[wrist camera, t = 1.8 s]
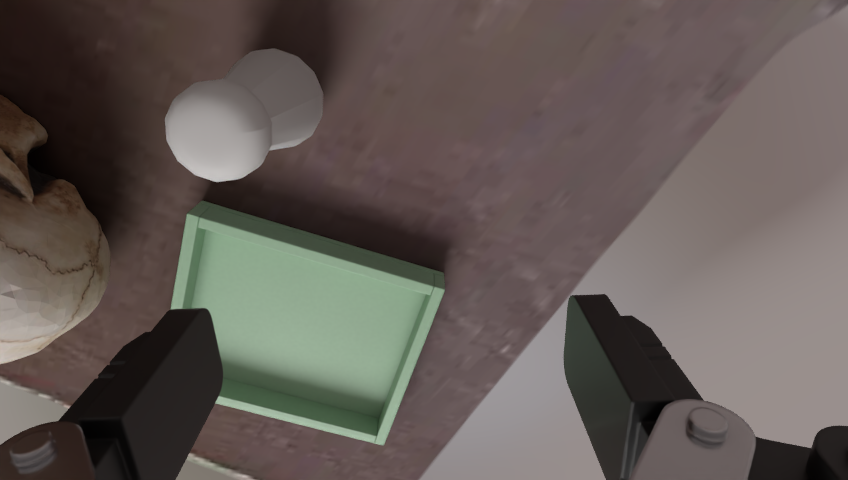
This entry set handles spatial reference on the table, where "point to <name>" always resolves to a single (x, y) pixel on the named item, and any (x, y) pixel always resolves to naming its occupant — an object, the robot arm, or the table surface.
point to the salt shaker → (244, 115)
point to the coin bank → (42, 245)
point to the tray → (306, 320)
